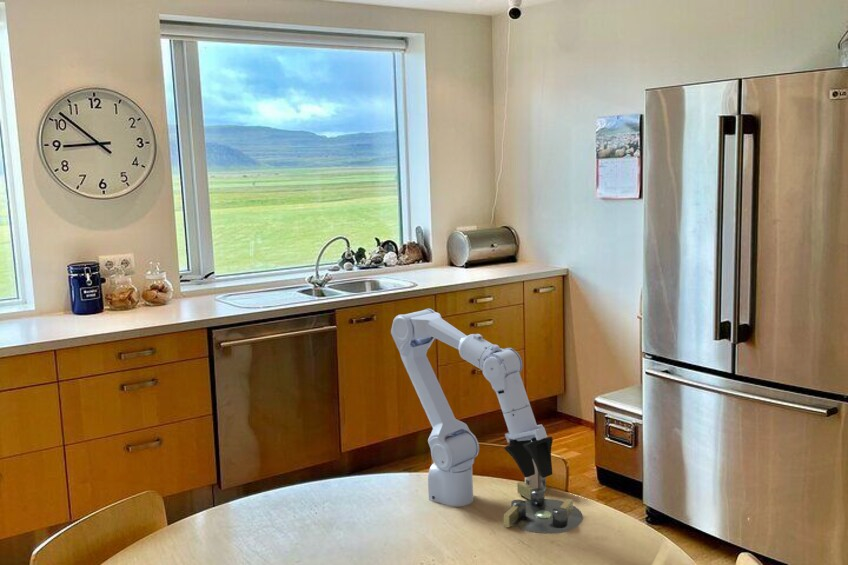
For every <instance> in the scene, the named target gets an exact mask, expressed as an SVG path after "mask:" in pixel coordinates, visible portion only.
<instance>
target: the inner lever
mask: <svg viewBox="0 0 848 565" xmlns="http://www.w3.org/2000/svg"><path fill="white" fill-rule="evenodd" d="M510 506H511V508H510V509H509V510H508V511H507V512H506V511H505V512H506V513H505V512H504V514H503V526H504V527H507V528H511V526H512V524H513V523H514V522H515V521H516V520H517V519H522V518H525V517H526V502H525V500H524V499H523V500H522V499H514V500H511V502H510Z"/></svg>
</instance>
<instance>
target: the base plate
mask: <svg viewBox="0 0 848 565" xmlns="http://www.w3.org/2000/svg"><path fill="white" fill-rule="evenodd" d="M524 501H525V502H526V517H525V518H522V519H517V520H516V521H515V522H514V523H513V524H512V525H511V526H512V527H514V528H516V529H518V530H520V531H523V532H527V533H532V534H540V535H542V534H545V535H548V534H549V535H551V534H552V535H553V534H561V533H566V532H568V531H571V530H574V529H576V528H577V527H578V526H580V525H581V523H582V522H583V520H584V515H583V513H582V511H581V510H580V509H579V508H578V507H576V506H574V505H573V511H572V512H571V514H570V515H569V516H568V525H567V526H566V527H556V526H554V525H553V518H552V510H553V509H554V508H560V507H561V505H562V504H563V503H564V502H565V501H563V500H558V499H551V498H545V504H544V505H543V506H540V507H536V506H532V505H531V502H530V500H529V499H525V500H524ZM510 508H511V505H510V506H509V507H508V508H507V509H506V511H505V512H504V514H505V513H506V512H507V511H508V510H509V509H510Z"/></svg>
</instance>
